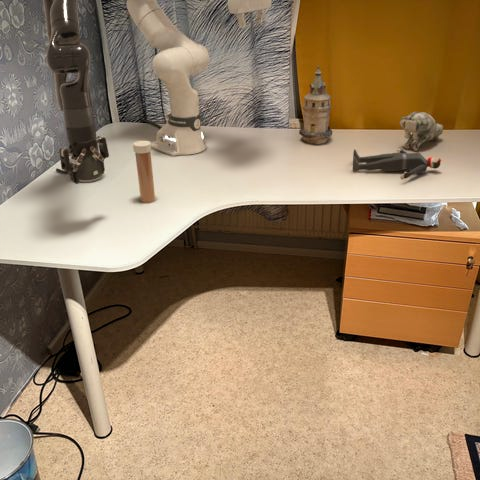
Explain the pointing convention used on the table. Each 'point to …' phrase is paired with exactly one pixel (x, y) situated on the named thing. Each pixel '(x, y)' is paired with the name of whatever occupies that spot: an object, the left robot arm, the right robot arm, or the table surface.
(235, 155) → the table surface
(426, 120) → the figurine
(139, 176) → the tan tall cylinder
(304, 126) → the miniature building
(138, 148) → the lid
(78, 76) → the left robot arm
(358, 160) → the toy
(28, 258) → the table surface
